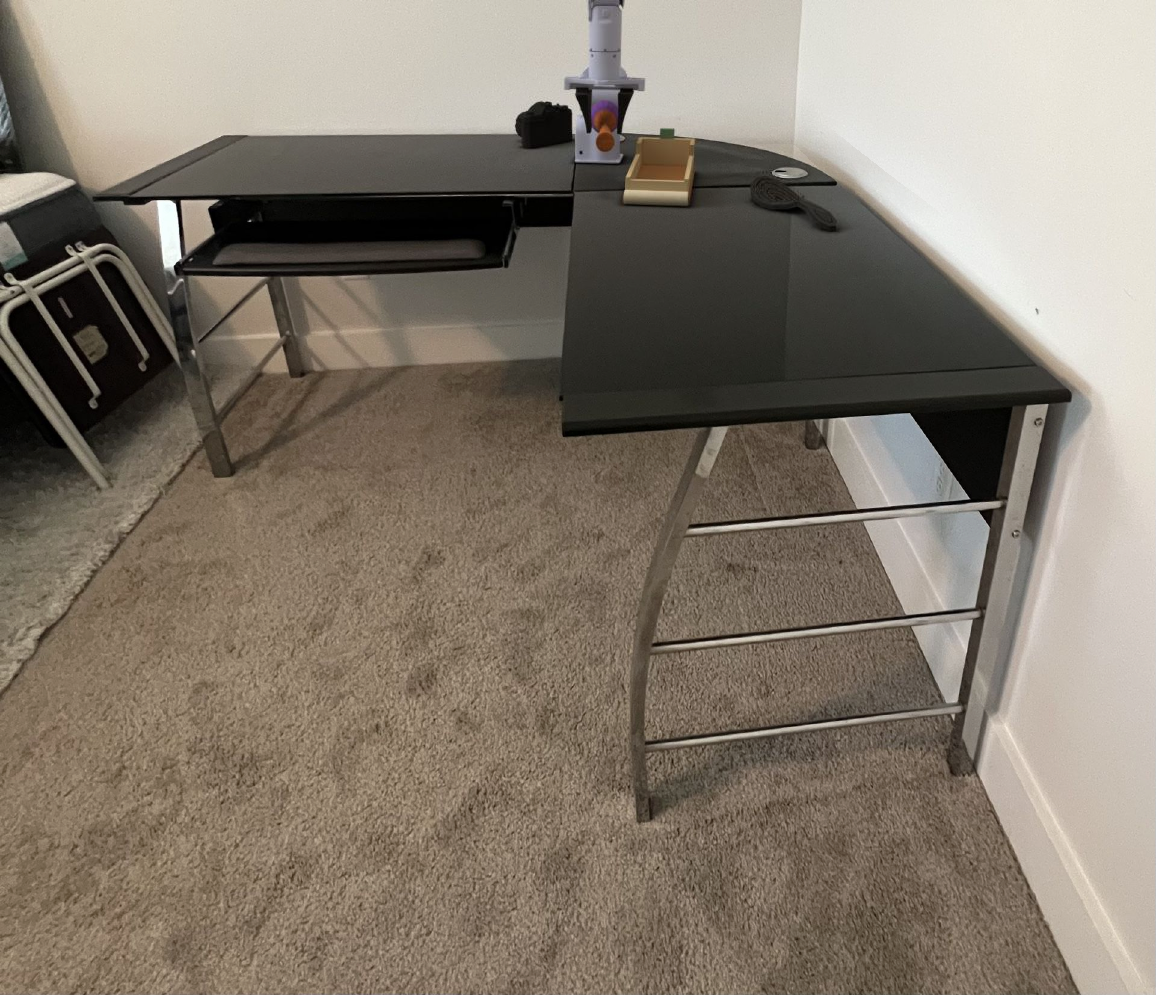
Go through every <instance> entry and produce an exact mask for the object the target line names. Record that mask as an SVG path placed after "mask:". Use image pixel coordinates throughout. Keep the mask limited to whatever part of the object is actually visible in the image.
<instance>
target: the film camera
mask: <svg viewBox="0 0 1156 995" xmlns="http://www.w3.org/2000/svg"><path fill="white" fill-rule="evenodd" d="M514 128H515V129H514V130H515V132H516V135H517V136H518V137H520V138H521V145H522V148H524V149H536V148H543V147H548V146H552V145H557V144H562V143H568V142H571V141H573V138H574V137H573V109H571V108H569V105H567V104H562V105H561V104H560V103H559V102H557V103H556V104H553V102H552V101H547V100H546V101H543V100H540V101H536V102H534V103H533V104H532V105H531V106H530V107H529V108H528V109H527V110H525V111H522V112H520V113H519V114H518V115H517V116H516V119H515V124H514Z"/></svg>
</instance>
